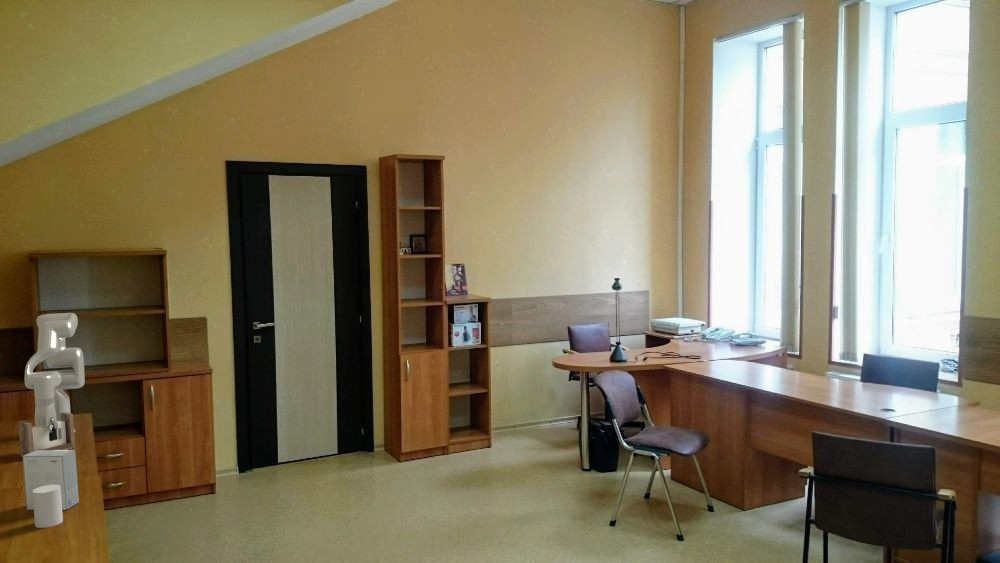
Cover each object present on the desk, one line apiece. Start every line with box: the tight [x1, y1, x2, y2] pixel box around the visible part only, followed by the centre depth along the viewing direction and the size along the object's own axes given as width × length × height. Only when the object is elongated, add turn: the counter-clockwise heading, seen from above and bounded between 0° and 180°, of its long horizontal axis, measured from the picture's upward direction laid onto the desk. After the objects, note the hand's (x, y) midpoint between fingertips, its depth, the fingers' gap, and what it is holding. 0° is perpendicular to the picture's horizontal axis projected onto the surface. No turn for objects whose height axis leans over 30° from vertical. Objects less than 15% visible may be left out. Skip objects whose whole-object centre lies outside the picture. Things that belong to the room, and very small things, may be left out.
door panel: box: [32, 420, 66, 451], centre depth 336 cm, size 4×14×12 cm, turn 148°
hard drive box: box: [22, 449, 80, 511], centre depth 269 cm, size 16×8×20 cm, turn 84°
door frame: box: [18, 412, 76, 458], centre depth 336 cm, size 8×20×16 cm, turn 148°
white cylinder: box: [33, 485, 64, 529], centre depth 253 cm, size 8×8×12 cm
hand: (47, 439), depth 336 cm, fingers open, 9 cm apart
